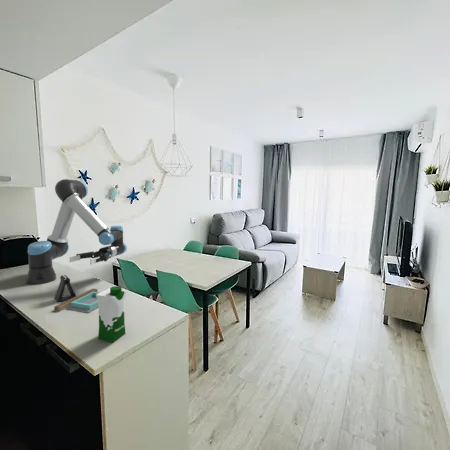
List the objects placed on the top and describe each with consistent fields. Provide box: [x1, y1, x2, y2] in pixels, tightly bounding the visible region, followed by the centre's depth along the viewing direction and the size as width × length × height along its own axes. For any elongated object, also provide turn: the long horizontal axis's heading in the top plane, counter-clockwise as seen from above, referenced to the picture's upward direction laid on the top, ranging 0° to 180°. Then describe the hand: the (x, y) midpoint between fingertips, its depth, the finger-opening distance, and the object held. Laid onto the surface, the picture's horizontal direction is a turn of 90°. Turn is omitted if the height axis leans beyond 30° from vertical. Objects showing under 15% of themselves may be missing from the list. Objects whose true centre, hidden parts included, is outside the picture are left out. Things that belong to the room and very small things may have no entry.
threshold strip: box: [54, 288, 98, 312], centre depth 130 cm, size 3×24×2 cm, turn 165°
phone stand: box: [53, 274, 77, 304], centre depth 131 cm, size 9×6×12 cm, turn 135°
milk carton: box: [96, 285, 127, 344], centre depth 99 cm, size 9×9×20 cm
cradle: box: [65, 291, 100, 314], centre depth 128 cm, size 13×18×3 cm
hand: (80, 261), depth 139 cm, fingers open, 13 cm apart
